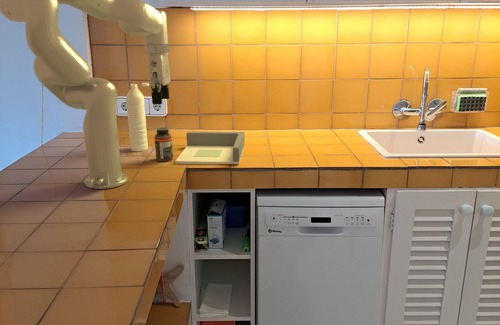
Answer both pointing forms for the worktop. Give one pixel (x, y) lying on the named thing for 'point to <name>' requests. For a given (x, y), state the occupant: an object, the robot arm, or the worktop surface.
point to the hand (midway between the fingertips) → (161, 101)
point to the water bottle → (137, 118)
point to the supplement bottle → (163, 145)
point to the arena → (212, 148)
